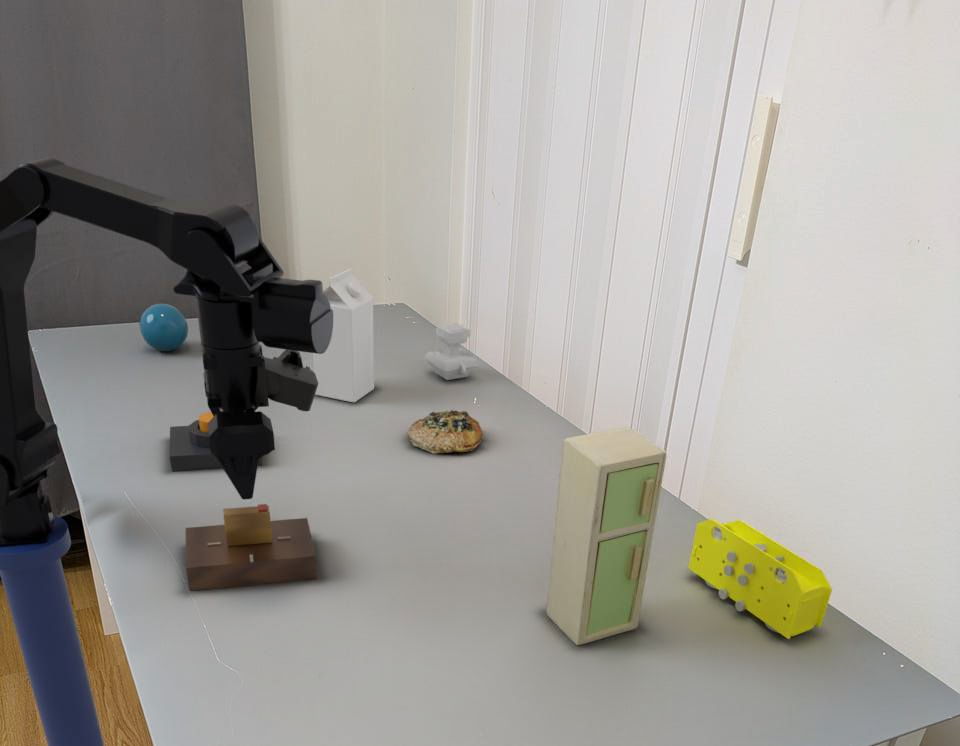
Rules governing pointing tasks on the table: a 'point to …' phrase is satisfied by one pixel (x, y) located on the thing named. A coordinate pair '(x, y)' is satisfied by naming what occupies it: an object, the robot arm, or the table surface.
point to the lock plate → (249, 557)
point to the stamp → (452, 353)
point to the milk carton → (347, 342)
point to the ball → (163, 327)
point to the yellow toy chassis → (760, 576)
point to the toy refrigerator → (603, 532)
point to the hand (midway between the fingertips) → (244, 479)
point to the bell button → (205, 421)
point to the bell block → (191, 449)
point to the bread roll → (446, 432)
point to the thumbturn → (247, 525)
